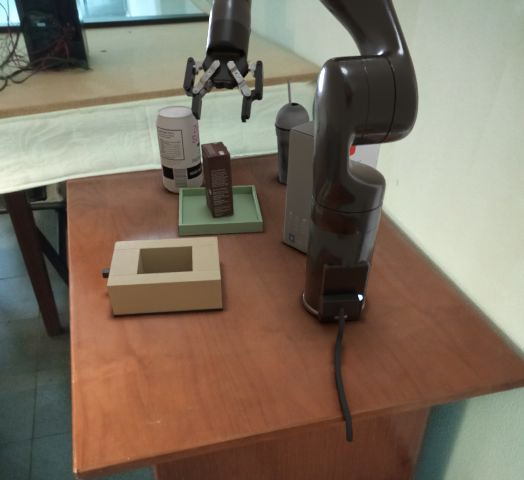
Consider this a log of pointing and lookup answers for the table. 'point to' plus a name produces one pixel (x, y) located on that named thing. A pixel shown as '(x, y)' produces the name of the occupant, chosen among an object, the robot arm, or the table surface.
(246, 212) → the tray
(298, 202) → the hard drive box
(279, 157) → the beverage cup
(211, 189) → the box
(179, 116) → the supplement can
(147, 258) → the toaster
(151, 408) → the table surface
